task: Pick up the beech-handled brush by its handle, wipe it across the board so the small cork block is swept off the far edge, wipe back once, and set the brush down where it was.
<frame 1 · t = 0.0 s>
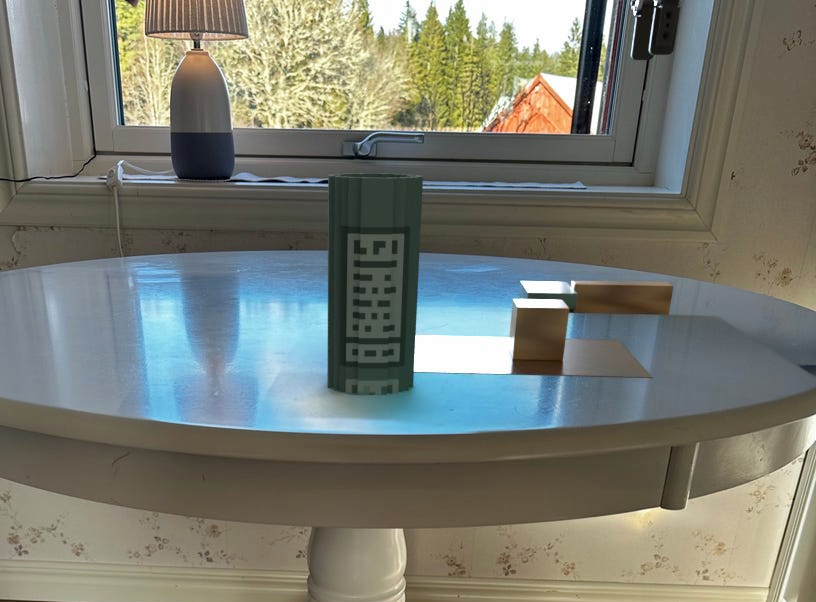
hand: (650, 57, 93), 24 cm above the table, tool pointing down, fingers open, 8 cm apart
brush: (544, 316, 101), on the table
cork block: (535, 354, 78), point 1 cm above the table, touching board
can: (369, 406, 70), on the table
board: (508, 372, 78), on the table
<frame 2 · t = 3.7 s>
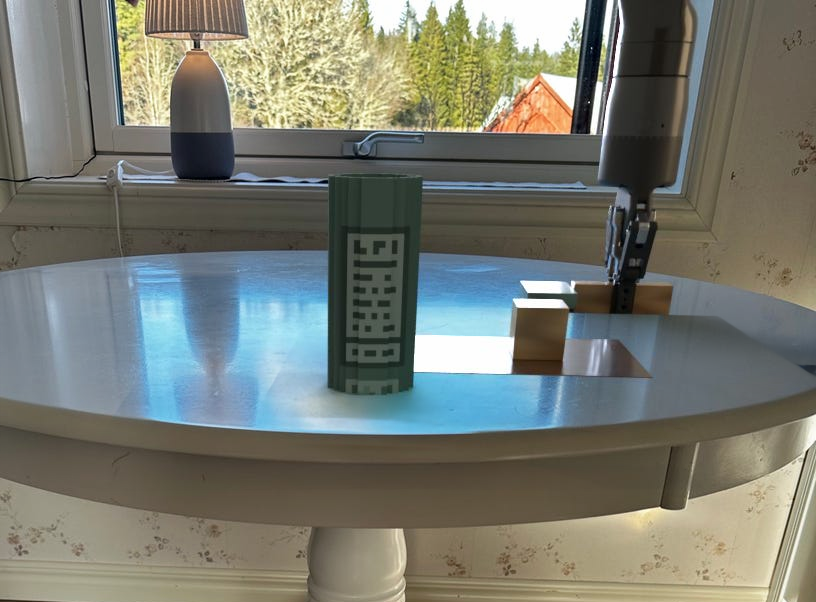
hand: (616, 317, 100), 0 cm above the table, tool pointing down, fingers closed on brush, 2 cm apart
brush: (544, 316, 101), on the table, touching gripper
everything else where it was.
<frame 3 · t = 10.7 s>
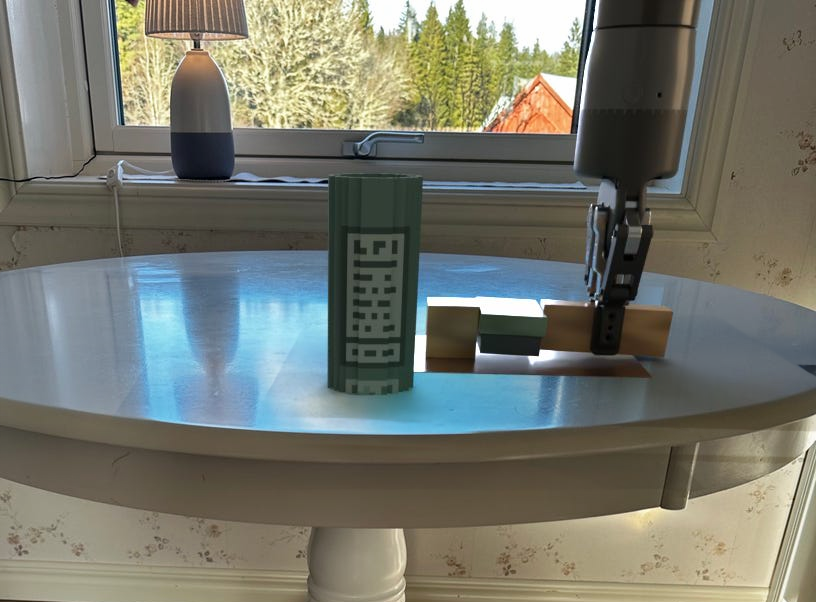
hand: (600, 349, 77), 2 cm above the table, tool pointing down, fingers closed on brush, 2 cm apart
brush: (505, 345, 77), point 2 cm above the table, touching gripper
cork block: (449, 352, 78), point 1 cm above the table, touching board
everything else where it was.
when the fingers open (0 cm above the table, at t = 23.3 s): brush stays where it is, on the table.
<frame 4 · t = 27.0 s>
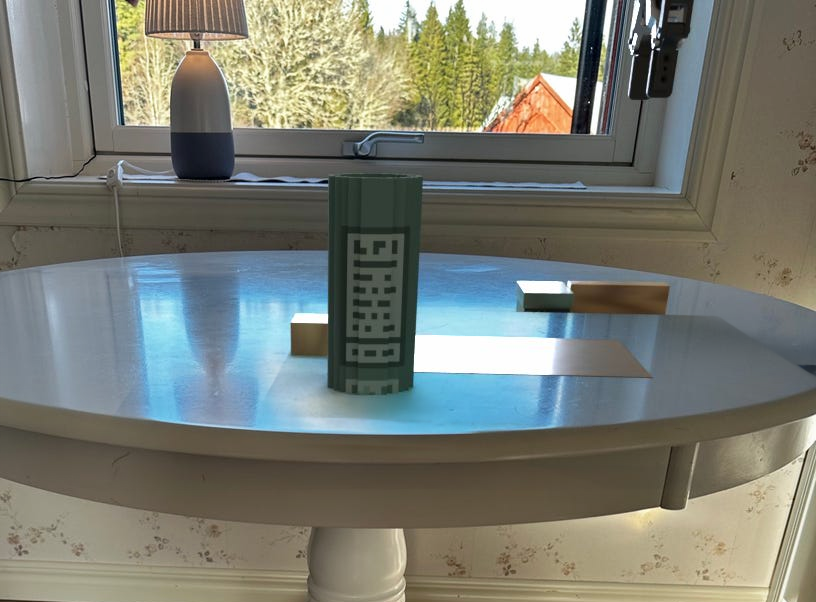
hand: (648, 99, 91), 20 cm above the table, tool pointing down, fingers open, 8 cm apart
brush: (541, 316, 101), on the table
cork block: (341, 344, 78), point 2 cm above the table, tilted 90°
everything else where it was.
at the end: cork block inside the target area (5.7 cm from its centre), point 2.0 cm above the table; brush inside the target area (0.4 cm from its centre), on the table; the gripper is holding nothing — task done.
